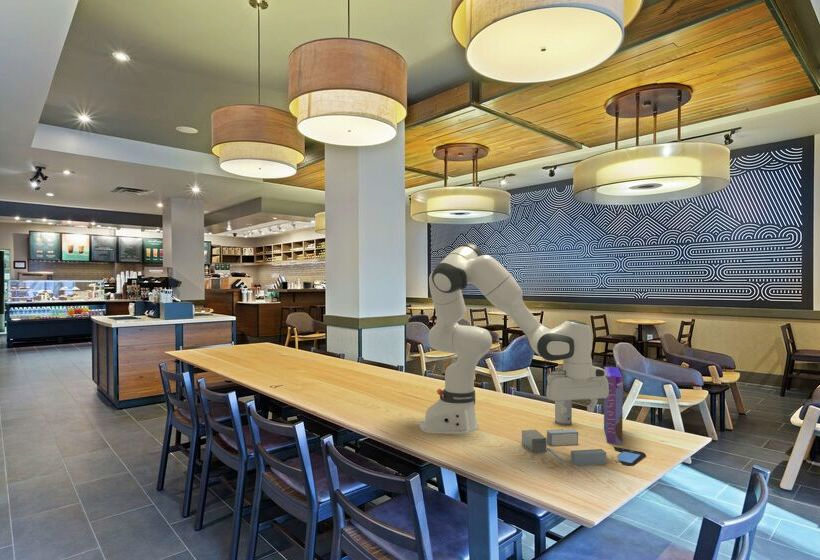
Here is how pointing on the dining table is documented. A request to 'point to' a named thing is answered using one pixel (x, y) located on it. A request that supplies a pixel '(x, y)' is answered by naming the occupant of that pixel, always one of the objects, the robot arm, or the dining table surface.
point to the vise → (585, 456)
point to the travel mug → (563, 418)
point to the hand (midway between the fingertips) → (577, 412)
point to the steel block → (534, 441)
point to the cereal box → (613, 406)
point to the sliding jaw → (562, 437)
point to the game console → (629, 456)
